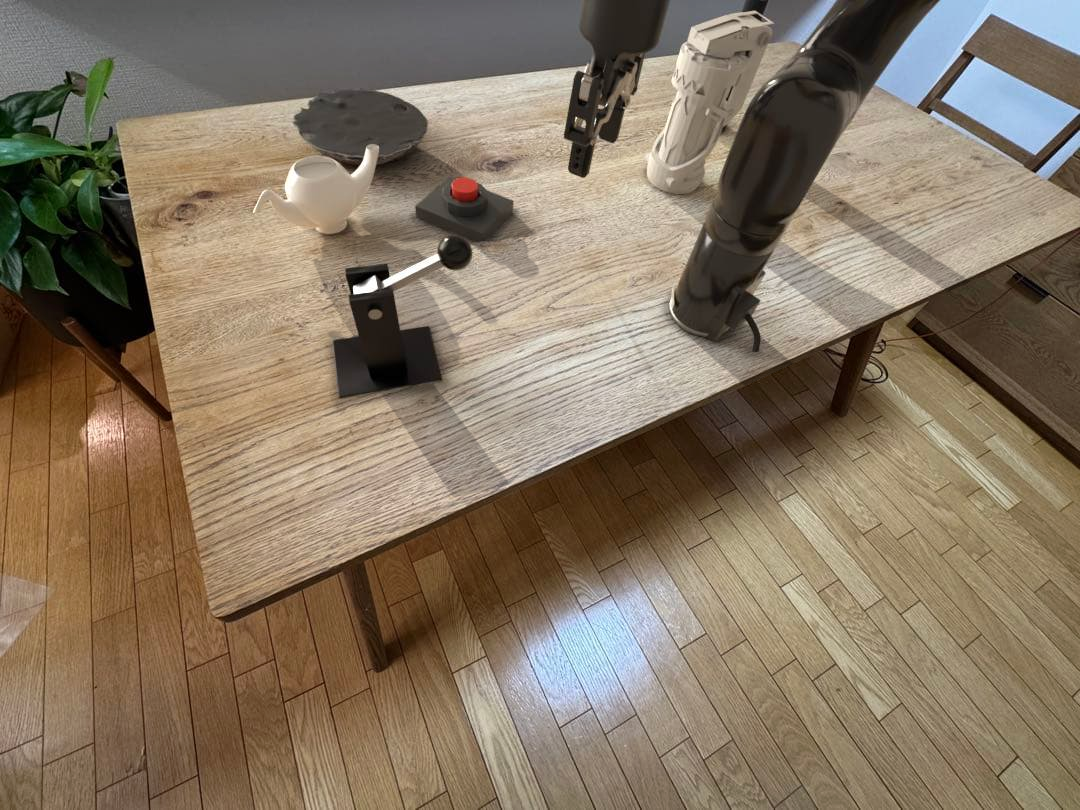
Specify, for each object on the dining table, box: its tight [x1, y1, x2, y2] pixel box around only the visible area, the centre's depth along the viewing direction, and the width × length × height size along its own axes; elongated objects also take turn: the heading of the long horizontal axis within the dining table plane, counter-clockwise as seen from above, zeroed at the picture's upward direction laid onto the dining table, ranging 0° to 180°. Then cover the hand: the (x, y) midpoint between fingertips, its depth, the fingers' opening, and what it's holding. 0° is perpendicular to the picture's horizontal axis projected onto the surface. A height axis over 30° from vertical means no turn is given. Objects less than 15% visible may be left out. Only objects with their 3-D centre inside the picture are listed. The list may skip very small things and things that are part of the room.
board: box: [292, 87, 429, 166], centre depth 89 cm, size 22×22×5 cm
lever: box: [353, 234, 473, 294], centre depth 54 cm, size 13×4×4 cm, turn 107°
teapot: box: [252, 144, 379, 235], centre depth 74 cm, size 10×20×9 cm, turn 134°
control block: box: [414, 175, 515, 243], centre depth 81 cm, size 12×10×4 cm
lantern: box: [643, 11, 775, 195], centre depth 85 cm, size 13×10×25 cm
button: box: [452, 177, 478, 202], centre depth 79 cm, size 4×4×2 cm
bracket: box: [332, 263, 443, 399], centre depth 59 cm, size 12×9×14 cm
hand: (593, 156), depth 57 cm, fingers open, 8 cm apart
